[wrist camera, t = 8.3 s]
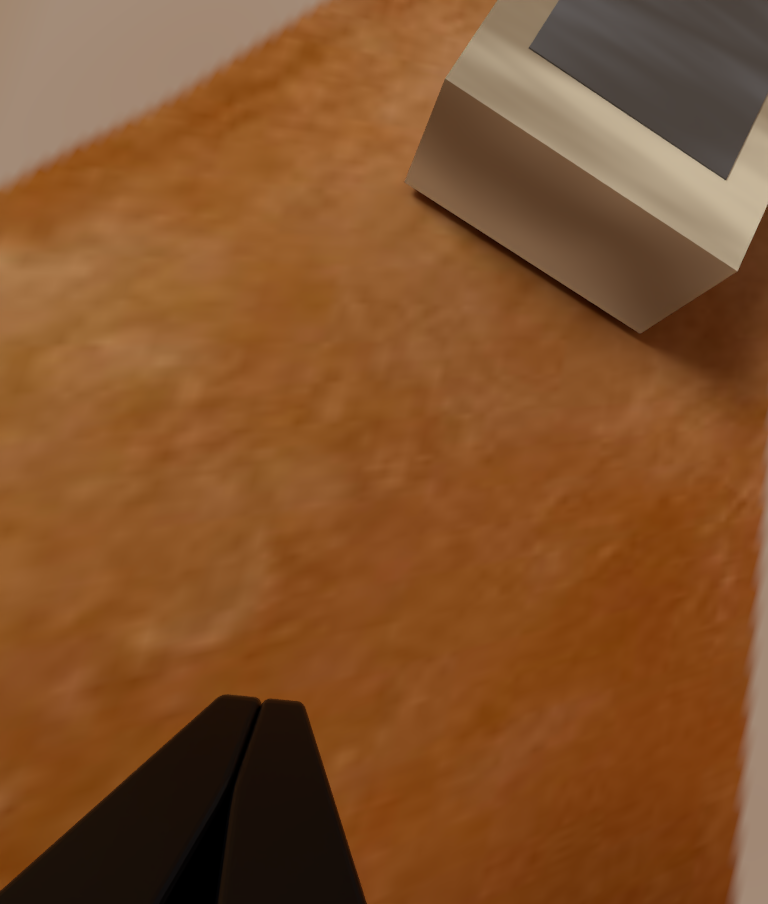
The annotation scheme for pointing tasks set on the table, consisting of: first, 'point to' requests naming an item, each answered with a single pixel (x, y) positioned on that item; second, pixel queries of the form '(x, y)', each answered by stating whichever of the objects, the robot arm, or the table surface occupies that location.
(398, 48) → the table surface
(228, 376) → the table surface
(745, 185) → the birch block
